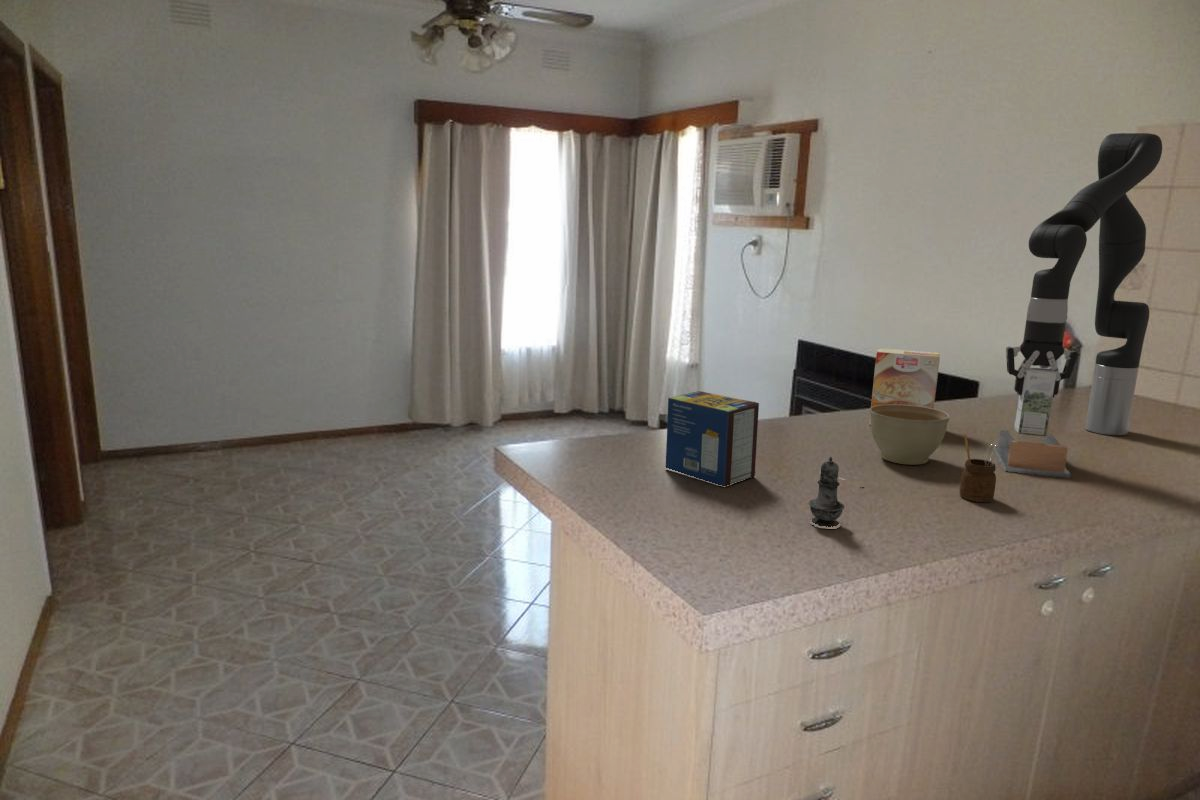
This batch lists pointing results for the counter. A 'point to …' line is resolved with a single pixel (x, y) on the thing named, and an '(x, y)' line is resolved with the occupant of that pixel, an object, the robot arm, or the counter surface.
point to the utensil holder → (978, 478)
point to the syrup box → (1035, 402)
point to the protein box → (712, 437)
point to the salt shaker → (827, 497)
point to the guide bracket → (1032, 456)
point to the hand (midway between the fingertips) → (1035, 395)
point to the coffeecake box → (905, 378)
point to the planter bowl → (907, 432)
